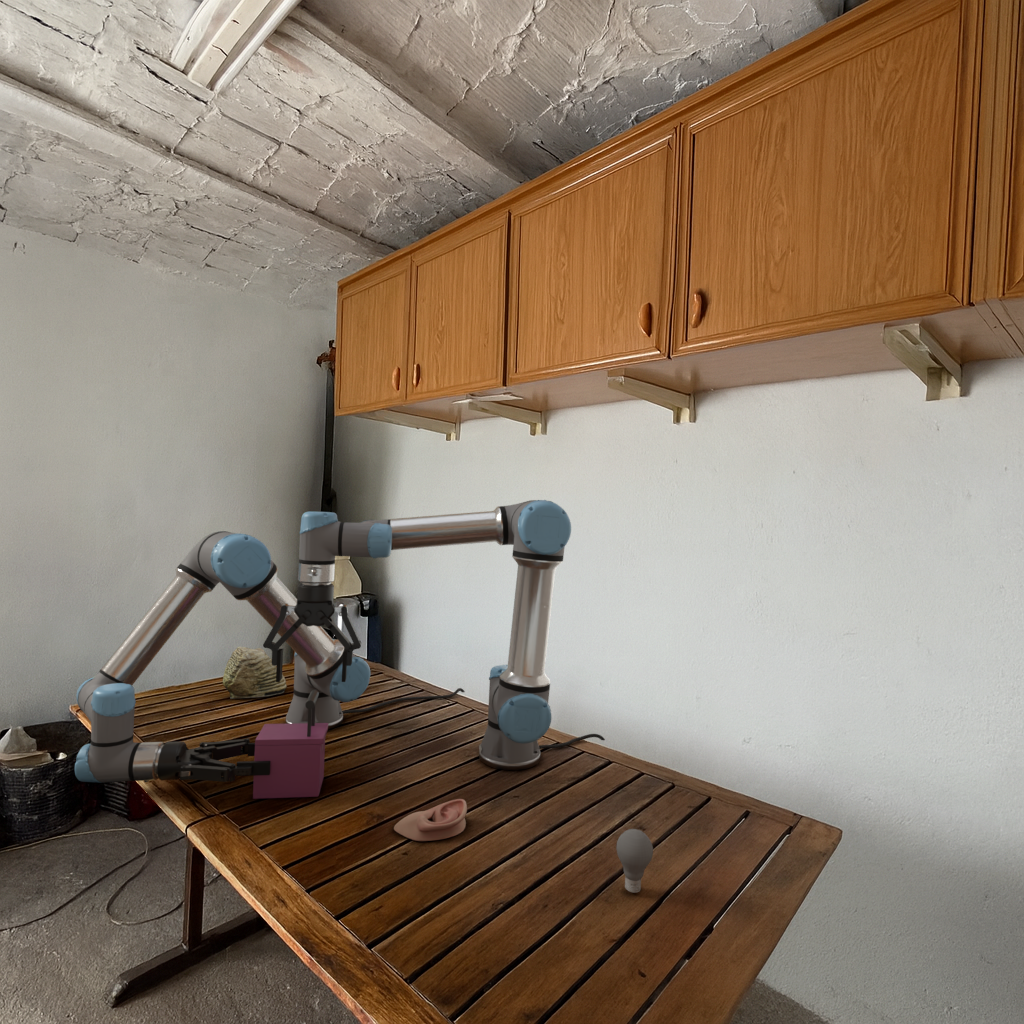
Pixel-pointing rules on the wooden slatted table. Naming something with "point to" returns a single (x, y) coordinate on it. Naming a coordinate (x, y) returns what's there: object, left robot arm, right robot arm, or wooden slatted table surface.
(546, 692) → the right robot arm
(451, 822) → the anatomical model
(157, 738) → the wooden slatted table surface
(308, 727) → the lid
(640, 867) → the light bulb
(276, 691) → the fossil
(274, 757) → the chest
